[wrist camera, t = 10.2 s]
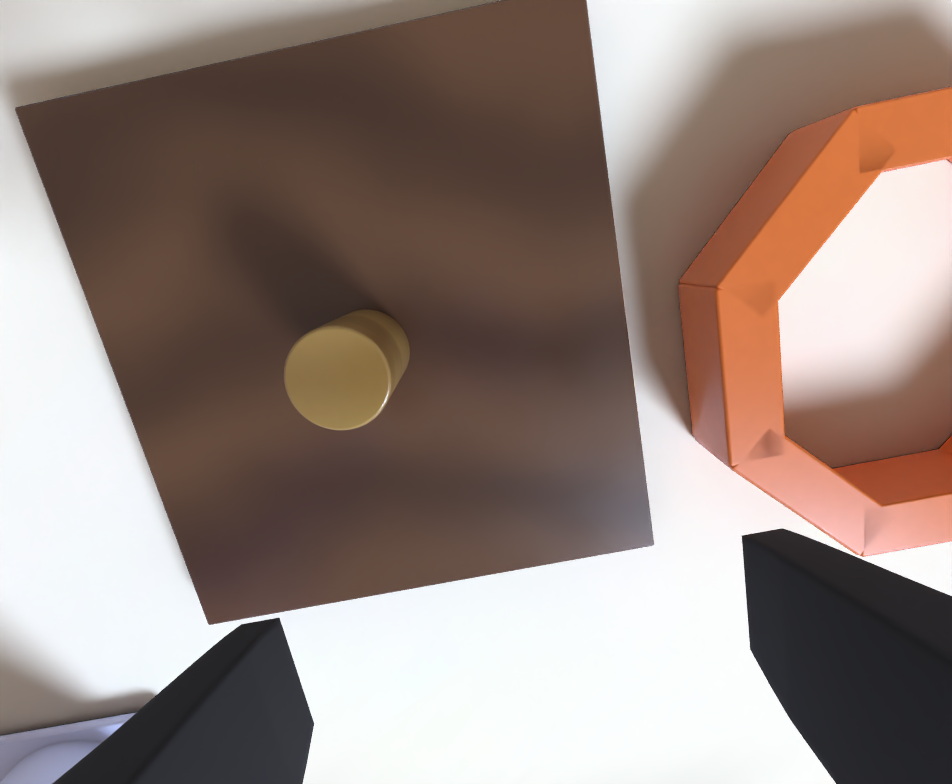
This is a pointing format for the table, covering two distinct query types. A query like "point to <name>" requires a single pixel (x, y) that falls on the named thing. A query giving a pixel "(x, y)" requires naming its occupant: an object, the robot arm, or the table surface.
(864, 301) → the table surface
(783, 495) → the ring
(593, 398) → the peg board
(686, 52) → the table surface
